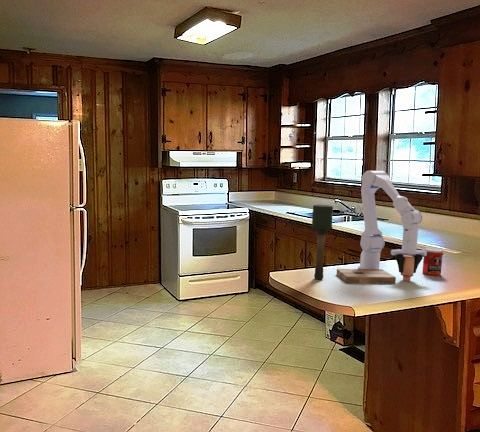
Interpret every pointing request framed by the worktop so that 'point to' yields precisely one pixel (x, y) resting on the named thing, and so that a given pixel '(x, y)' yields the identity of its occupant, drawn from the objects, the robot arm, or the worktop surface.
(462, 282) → the worktop surface
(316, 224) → the potato masher grenade
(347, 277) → the board
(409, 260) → the peg
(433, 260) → the canned food
